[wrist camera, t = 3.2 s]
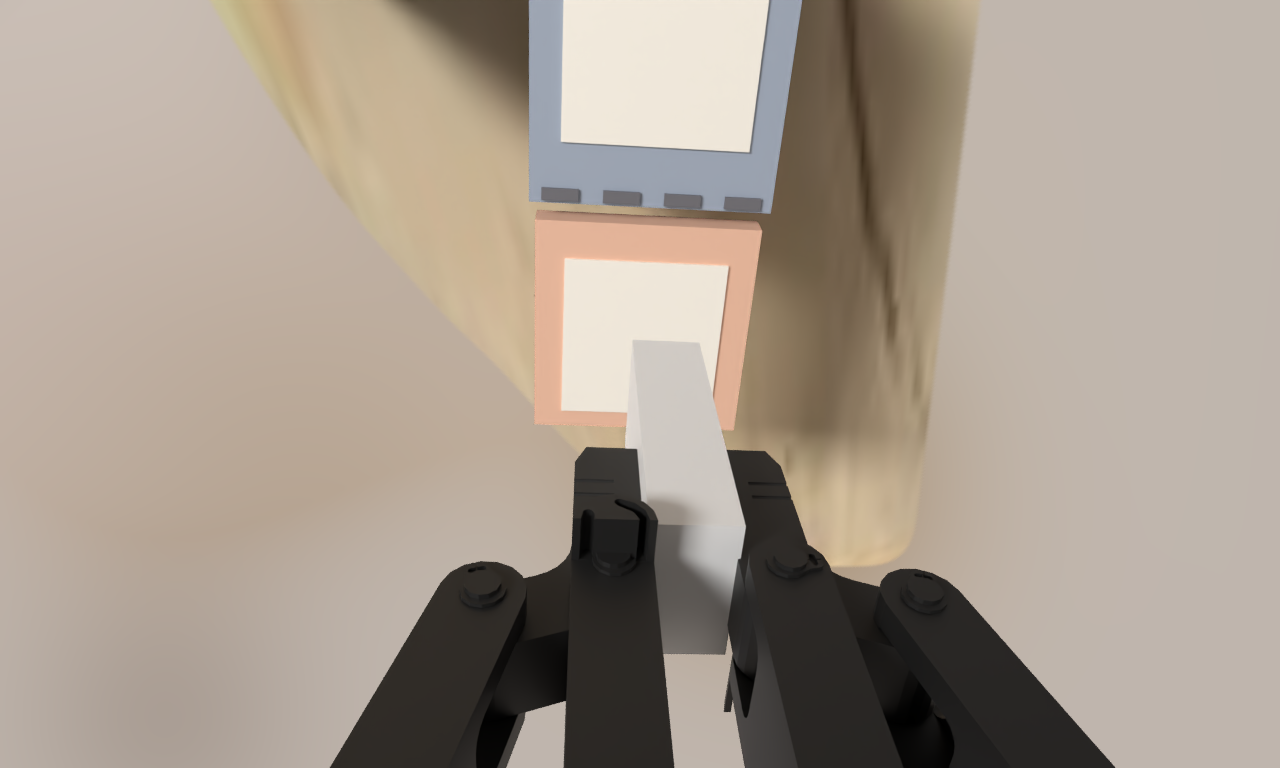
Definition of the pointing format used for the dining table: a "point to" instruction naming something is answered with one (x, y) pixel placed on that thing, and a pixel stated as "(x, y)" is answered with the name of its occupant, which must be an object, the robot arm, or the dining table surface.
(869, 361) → the dining table surface
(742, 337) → the stub
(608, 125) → the block
